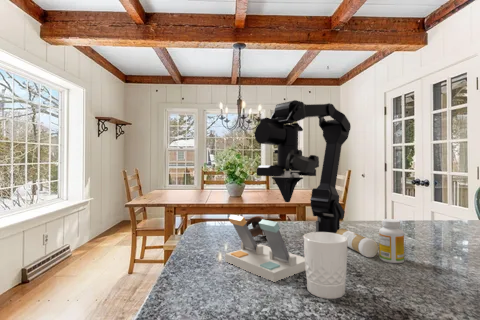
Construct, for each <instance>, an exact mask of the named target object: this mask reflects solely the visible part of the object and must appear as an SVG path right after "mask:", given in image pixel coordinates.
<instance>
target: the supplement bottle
mask: <svg viewBox="0 0 480 320" xmlns="http://www.w3.org/2000/svg"><path fill="white" fill-rule="evenodd" d="M381 225H382V227H381V228H379V229H378V253H379V259H380V260H381V261H383V262H385V263H390V264H402V263H404V262H405V234H404V233H405V232H404V230H402V228H401V220H399V219H396V218H395V219H394V218H383V219H381ZM400 228H401V229H400Z"/></svg>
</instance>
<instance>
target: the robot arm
mask: <svg viewBox="0 0 480 320" xmlns="http://www.w3.org/2000/svg"><path fill="white" fill-rule="evenodd" d="M274 107H275V108H274V111H273V112H272V114H271V115H270V117H262V118H260V120H259V121H260V122H259V123H258V124H257V126H256V128H255V131H254V140H255V141H256V143H258V144H260V145H269V146H277V149H274V153H273V154H276V155H277V158H276V159H277V163H275V164H274V165H258V166H257V168H256V176H259V177H260V176H261V177H271V180H273V181H274V182H275V184H276V186H277V188H278V189H279V192H280V194H281V196H282V198H283V201H284V203H291V199H292V197H293V194H294V191H295V189H296V187H297V184H298V183H299V182H300V181H301V180H303V179H304V177H305V176H307V177H308V176H309V177H316V176H317V168H319V167H320V160H319V158H320V157H319V156H317V155H315V154H310V155H309V156H305V155H303V151H302V149H299V132H303V130H304V128H303V127H302V126H301V125H300V124H299V123H298V122H299V121H301V120H304V119H305V118H318V126H319V127H320V129H321V131H322V137H323V140H324V141H325V148H324V149H325V150H324V155H323V161H322V169H321V174H320V181H319V184H318V186H317V187H316V188H313V189H312V190H311V197H310V199H309V201H310V208H311V212H312V216H313V217H317V218H316V219H317V220H316V221H315V232H329V233H336V232H337V231H338V230H339V229H341V226H340V222H341V221H340V220H343V219H344V218H345V213H346V212H345V209H344V208H343V206H342V205H341V203H340V195H339V193H338V190H337V189H336V186H337V185H336V184H337V179H338V172H339V166H340V165H339V164H340V159H341V158H340V157H341V151H342V146H343V145H344V144H345V142H346V141H347V140H348V139H349V134H350V131H351V122H350V121H349V118H347V116H346V115H345V114H344V113H343V112H342V111H340V110H339V109H337V108H336V107H335V106H334V104H332V103H330V102H328V103H318V104H317V103H315V104H305V103H304V102H303V101H299V100H296V99H294V100H291V101H285V102H281V103H276V105H275V106H274ZM326 117H330V118H331V120H330V119H329V120H326V119H325V118H326ZM300 176H303V177H300Z"/></svg>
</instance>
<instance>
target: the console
mask: <svg viewBox="0 0 480 320" xmlns="http://www.w3.org/2000/svg"><path fill="white" fill-rule="evenodd" d="M288 253H289V256H290V257H289V263H286V262H283V261H280V260H277V259H275V258H274V255H273V253H272V251H271V248H270V246H268V245H265V244H262V243H260V244H257V247H256V252H254V251H251V250H248V249H245V246H244V244H243V242H242V241H241V242H240V249H238V250H234V251H231V252H226V253H225V255H224V257H225V258H224V259H225V263H227V262H228V263H227V264H229V263H230V265H231V264H233V265H232V266H234V265H235V266H234V267H236V266H237V267H236V268H238V267H240V268H239V269H241V268H242V269H241V270H243V269H244V270H243V271H245V270H246V272H248V271H249V272H248V273H250V272H251V273H250V274H252V273H253V274H252V275H255V274H256V275H255V276H257V275H258V277H259V276H261V277H260V278H262V277H264V278H266V279H269V280H271V281H273V282H275V283H277V282H276V281H278V280H280V281H282V280H281V279H283V280H285V279H287V278H290V277H292V276H295V275H297V274H300V273H302V272H304V271H306V269H305V256H301V255H298V254H294V253H291V252H288ZM294 274H295V275H294ZM289 276H290V277H289ZM286 277H287V278H286ZM264 278H263V279H264ZM284 278H285V279H284ZM266 279H265V280H266ZM271 281H270V282H271ZM273 282H272V283H273ZM278 282H279V281H278Z"/></svg>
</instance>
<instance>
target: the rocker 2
mask: <svg viewBox="0 0 480 320" xmlns="http://www.w3.org/2000/svg"><path fill="white" fill-rule="evenodd" d="M259 225H260V228H261V229H263V231H264V233H263V235H264V234H265V236H266V237H265V236H264V237H265V238H266V240H267V243H268V245H269V246H268V247H270V248H271V251H272V253H273V255H274V258H275V259H277V260H280V261H283V262H286V263H289V257H290V256H289V253H290V252H289V251H288V248H287V246H286V243H285V241H284V238H283V236H282V234H281V231H280V230H281V227H280V225H279V222H277V221H273V220H270V219H269V220H268V219H265V218H264V219H262V220H261V221H260V222H259Z"/></svg>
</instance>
